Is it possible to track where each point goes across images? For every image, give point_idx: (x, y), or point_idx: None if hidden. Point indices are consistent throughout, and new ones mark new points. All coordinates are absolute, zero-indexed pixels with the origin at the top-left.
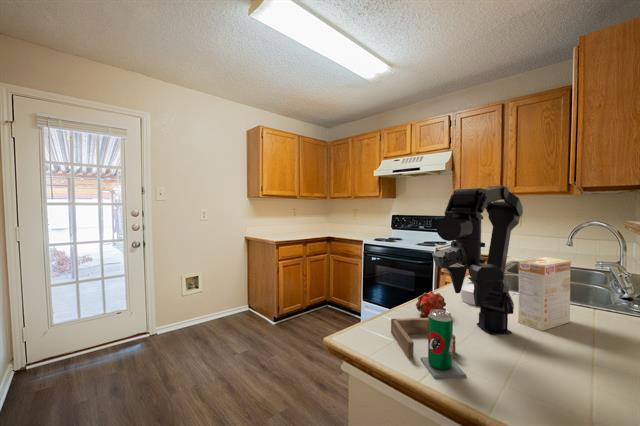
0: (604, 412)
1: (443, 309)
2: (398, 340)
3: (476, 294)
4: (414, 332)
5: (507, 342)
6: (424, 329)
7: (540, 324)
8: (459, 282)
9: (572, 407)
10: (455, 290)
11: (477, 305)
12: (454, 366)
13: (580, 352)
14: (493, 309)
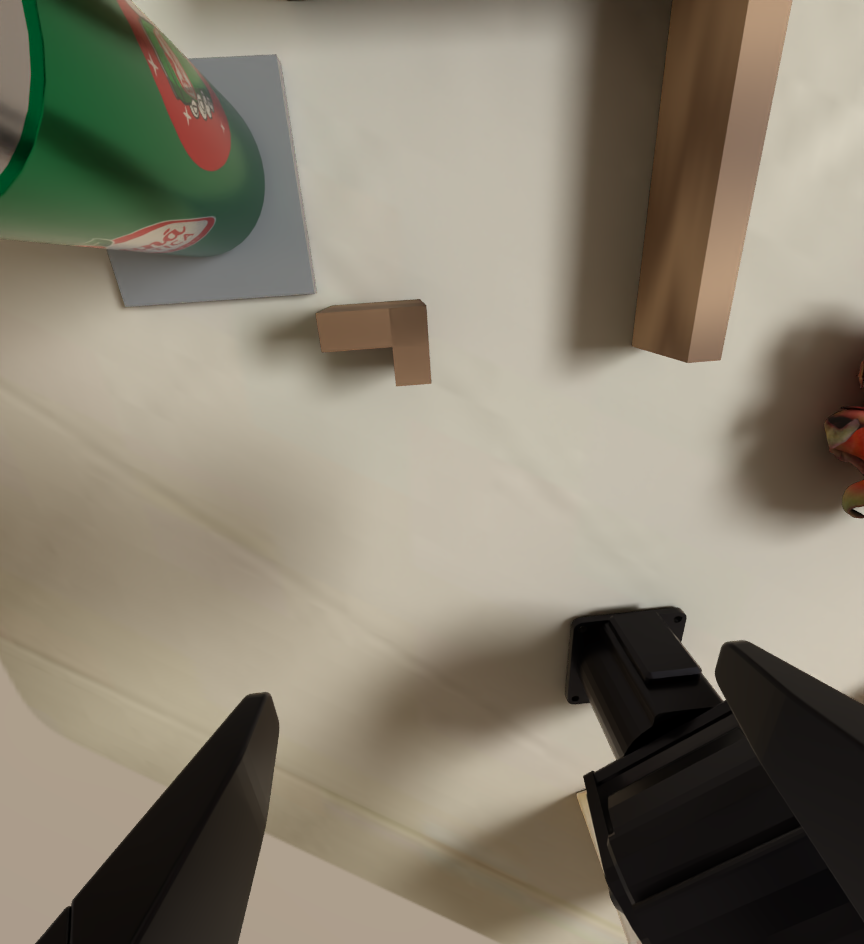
0: (48, 682)
1: (858, 502)
2: None
3: (117, 864)
4: (657, 171)
5: (495, 647)
6: (658, 258)
7: (591, 818)
8: (852, 837)
9: (40, 616)
10: (755, 663)
11: (249, 695)
12: (200, 273)
13: (416, 809)
14: (651, 750)
